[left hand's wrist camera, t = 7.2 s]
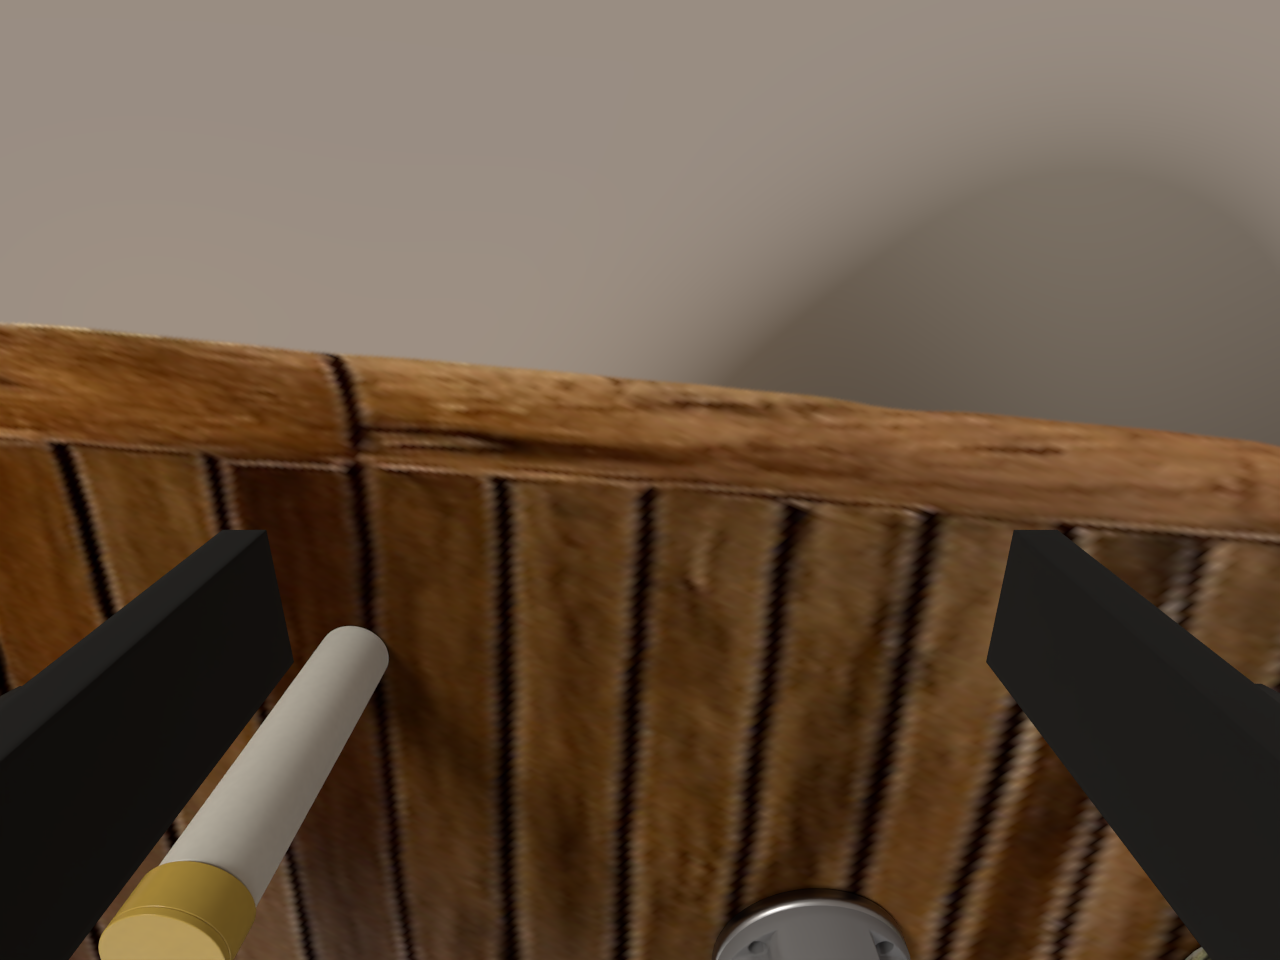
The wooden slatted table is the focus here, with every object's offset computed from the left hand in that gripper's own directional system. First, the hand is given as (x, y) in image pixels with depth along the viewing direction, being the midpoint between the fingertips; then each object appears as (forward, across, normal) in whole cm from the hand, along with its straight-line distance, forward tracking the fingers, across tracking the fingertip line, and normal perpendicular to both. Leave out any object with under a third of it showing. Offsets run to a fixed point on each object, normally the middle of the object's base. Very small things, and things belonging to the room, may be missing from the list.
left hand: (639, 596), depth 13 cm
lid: (+8, +19, +21) cm, 29 cm away
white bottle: (+28, +19, +21) cm, 40 cm away
